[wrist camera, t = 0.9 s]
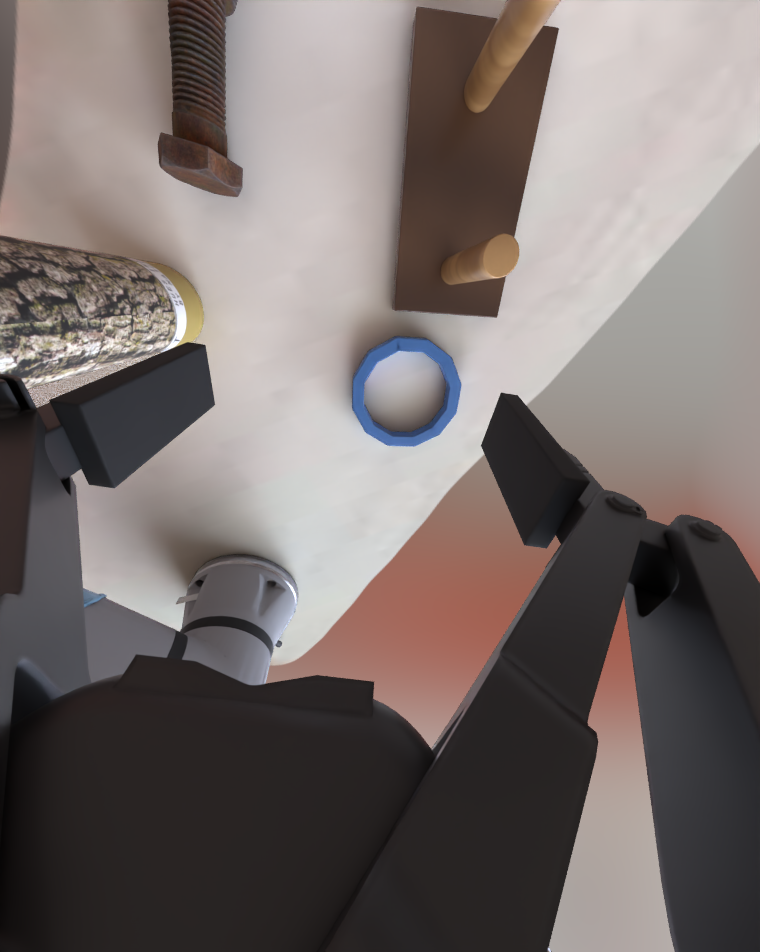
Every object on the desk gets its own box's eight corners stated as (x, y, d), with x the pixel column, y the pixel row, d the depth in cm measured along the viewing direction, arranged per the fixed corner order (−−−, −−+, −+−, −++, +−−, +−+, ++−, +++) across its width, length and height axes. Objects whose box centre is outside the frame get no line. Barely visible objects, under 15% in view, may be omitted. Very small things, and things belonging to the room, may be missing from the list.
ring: (446, 442, 38) (450, 447, 37) (351, 439, 37) (351, 444, 36) (464, 340, 33) (469, 342, 32) (353, 333, 32) (353, 335, 31)
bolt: (231, -86, 21) (229, 201, 27) (134, -169, 18) (158, 174, 24) (256, -168, 17) (247, 191, 23) (136, -292, 14) (164, 158, 20)
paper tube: (117, 260, 28) (-741, 125, 6) (198, 266, 28) (-319, 163, 7) (140, 343, 31) (-363, 450, 9) (213, 347, 32) (-101, 457, 10)
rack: (491, 316, 32) (561, 326, 21) (392, 310, 31) (411, 316, 20) (548, 42, 23) (716, -183, 12) (413, 22, 22) (466, -238, 12)
